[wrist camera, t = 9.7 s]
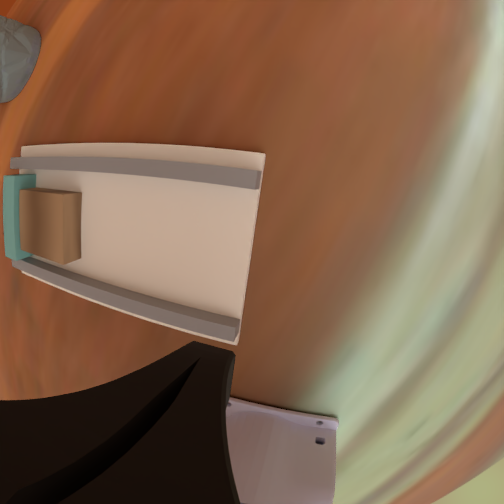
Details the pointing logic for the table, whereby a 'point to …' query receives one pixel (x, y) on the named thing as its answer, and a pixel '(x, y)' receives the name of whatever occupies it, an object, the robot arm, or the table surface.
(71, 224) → the block
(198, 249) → the track
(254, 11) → the table surface
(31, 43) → the grey tapered pot
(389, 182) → the table surface
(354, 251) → the table surface
